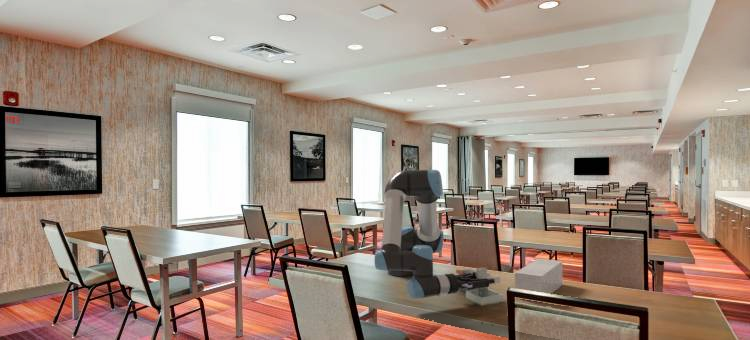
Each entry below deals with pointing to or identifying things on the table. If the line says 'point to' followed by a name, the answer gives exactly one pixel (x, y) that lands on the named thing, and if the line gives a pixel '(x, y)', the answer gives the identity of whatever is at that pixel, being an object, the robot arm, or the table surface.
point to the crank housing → (466, 273)
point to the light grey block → (540, 276)
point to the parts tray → (491, 299)
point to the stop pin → (482, 275)
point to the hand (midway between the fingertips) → (494, 277)
